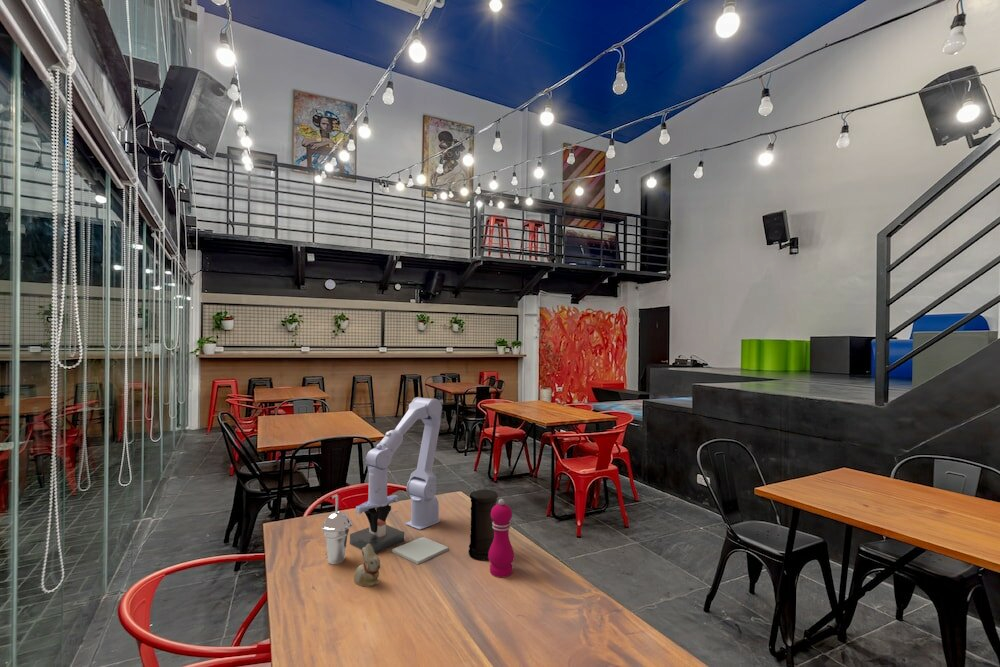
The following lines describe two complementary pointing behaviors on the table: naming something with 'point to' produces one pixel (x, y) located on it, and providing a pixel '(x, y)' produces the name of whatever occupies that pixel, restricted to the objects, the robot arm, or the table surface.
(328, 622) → the table surface
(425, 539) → the pad
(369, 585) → the chocolate bunny
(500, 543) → the pepper mill
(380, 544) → the grey plate with slot
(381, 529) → the pink topped brick
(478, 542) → the container
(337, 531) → the cup with straw
